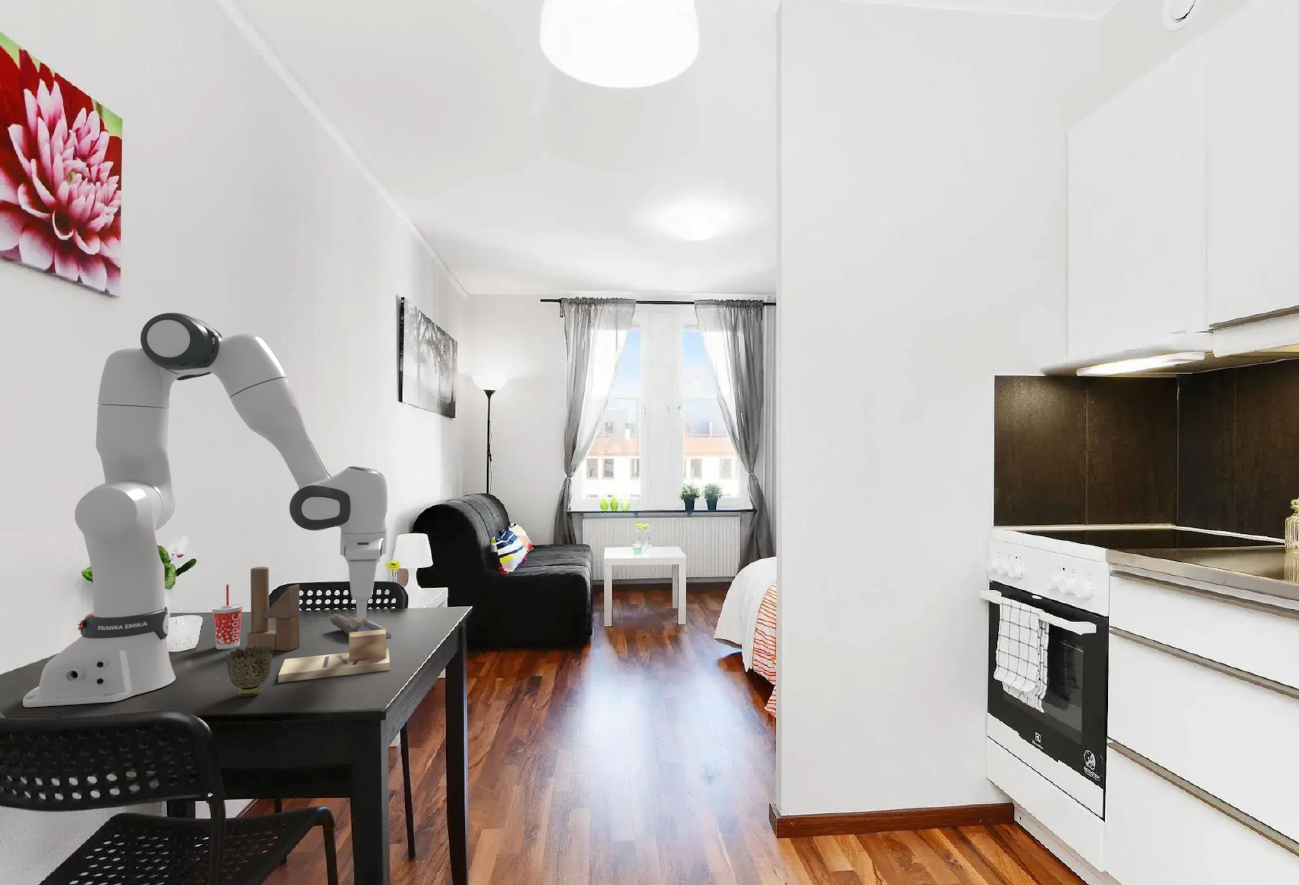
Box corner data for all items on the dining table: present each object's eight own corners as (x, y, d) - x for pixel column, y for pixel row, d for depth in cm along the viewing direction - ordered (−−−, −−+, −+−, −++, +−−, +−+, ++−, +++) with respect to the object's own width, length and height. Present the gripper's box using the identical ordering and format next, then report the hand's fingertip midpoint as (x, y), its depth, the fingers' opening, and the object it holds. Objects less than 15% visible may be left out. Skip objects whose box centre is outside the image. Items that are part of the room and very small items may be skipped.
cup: (239, 688, 135) (239, 645, 135) (280, 686, 136) (279, 644, 136) (218, 702, 128) (217, 656, 128) (261, 700, 128) (261, 655, 128)
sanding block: (349, 662, 146) (349, 637, 146) (349, 656, 150) (349, 632, 150) (386, 658, 148) (385, 633, 148) (385, 652, 152) (385, 629, 152)
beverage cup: (220, 651, 160) (220, 588, 160) (206, 647, 164) (206, 585, 164) (248, 645, 165) (248, 583, 165) (234, 641, 169) (234, 581, 169)
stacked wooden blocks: (289, 651, 160) (289, 569, 160) (246, 649, 162) (245, 569, 162) (300, 646, 163) (299, 567, 163) (258, 645, 165) (257, 566, 165)
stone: (399, 627, 172) (359, 621, 165) (393, 648, 171) (353, 642, 164) (368, 615, 184) (330, 608, 177) (362, 634, 183) (323, 628, 176)
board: (278, 682, 138) (278, 674, 138) (285, 666, 148) (285, 659, 148) (389, 669, 145) (389, 662, 145) (388, 655, 156) (388, 648, 156)
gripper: (348, 540, 158) (346, 603, 157) (345, 552, 138) (343, 625, 138) (379, 539, 160) (377, 602, 160) (380, 551, 141) (378, 623, 140)
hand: (361, 613), depth 149 cm, fingers open, 8 cm apart
